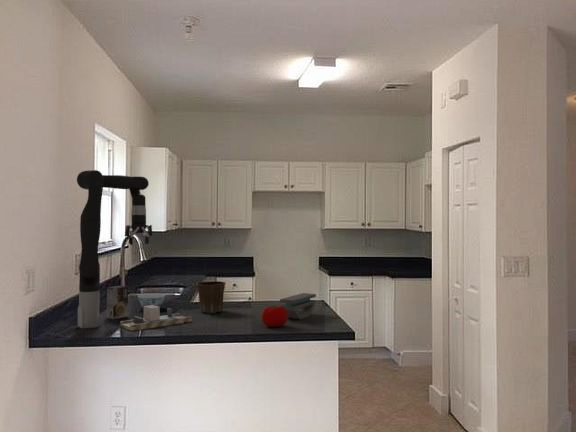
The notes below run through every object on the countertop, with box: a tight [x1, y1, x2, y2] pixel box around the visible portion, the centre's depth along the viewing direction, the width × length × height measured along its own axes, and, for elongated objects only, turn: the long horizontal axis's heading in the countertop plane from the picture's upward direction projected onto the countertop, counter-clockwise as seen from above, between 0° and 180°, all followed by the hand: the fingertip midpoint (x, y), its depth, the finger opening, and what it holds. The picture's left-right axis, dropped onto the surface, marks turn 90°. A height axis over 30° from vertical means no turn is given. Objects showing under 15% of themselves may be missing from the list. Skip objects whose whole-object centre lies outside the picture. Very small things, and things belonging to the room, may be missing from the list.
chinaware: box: [137, 293, 166, 308], centre depth 300 cm, size 15×15×8 cm
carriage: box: [142, 307, 177, 323], centre depth 258 cm, size 16×9×5 cm, turn 131°
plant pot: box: [196, 280, 227, 314], centre depth 292 cm, size 16×16×16 cm
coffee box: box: [106, 285, 129, 320], centre depth 276 cm, size 9×6×16 cm
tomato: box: [261, 304, 288, 328], centre depth 252 cm, size 11×13×10 cm
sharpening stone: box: [279, 292, 317, 320], centre depth 276 cm, size 25×8×11 cm, turn 150°
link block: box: [143, 305, 161, 321], centre depth 256 cm, size 5×7×6 cm
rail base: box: [119, 313, 193, 332], centre depth 258 cm, size 32×13×4 cm, turn 131°
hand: (138, 244), depth 279 cm, fingers open, 8 cm apart
